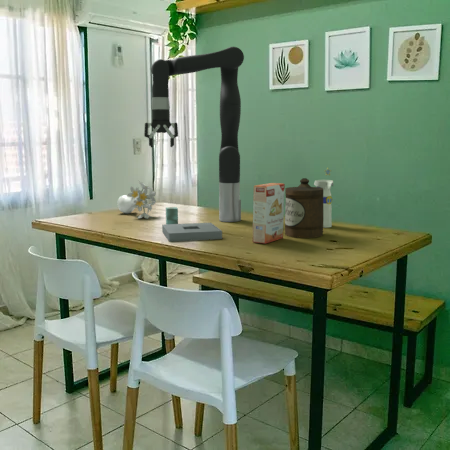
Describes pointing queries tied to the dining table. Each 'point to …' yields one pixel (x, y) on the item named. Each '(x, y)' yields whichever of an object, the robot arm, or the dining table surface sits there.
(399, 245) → the dining table surface
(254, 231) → the cracker box
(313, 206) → the wooden container
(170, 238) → the pocket plate
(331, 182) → the white spray bottle
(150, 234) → the dining table surface
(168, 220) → the teal block
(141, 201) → the flower vase
